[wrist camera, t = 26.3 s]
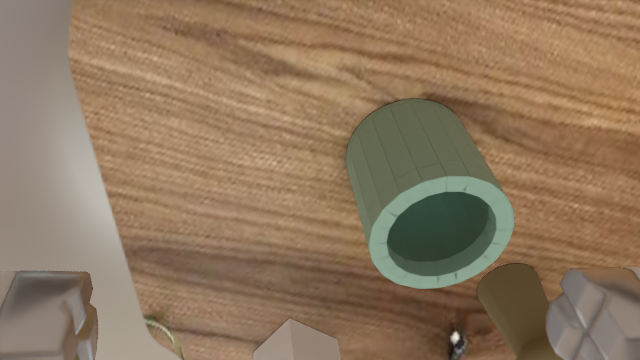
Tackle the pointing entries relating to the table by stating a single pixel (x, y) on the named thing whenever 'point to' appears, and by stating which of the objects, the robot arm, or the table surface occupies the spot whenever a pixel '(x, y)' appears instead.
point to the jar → (426, 196)
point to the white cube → (298, 344)
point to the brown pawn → (518, 310)
